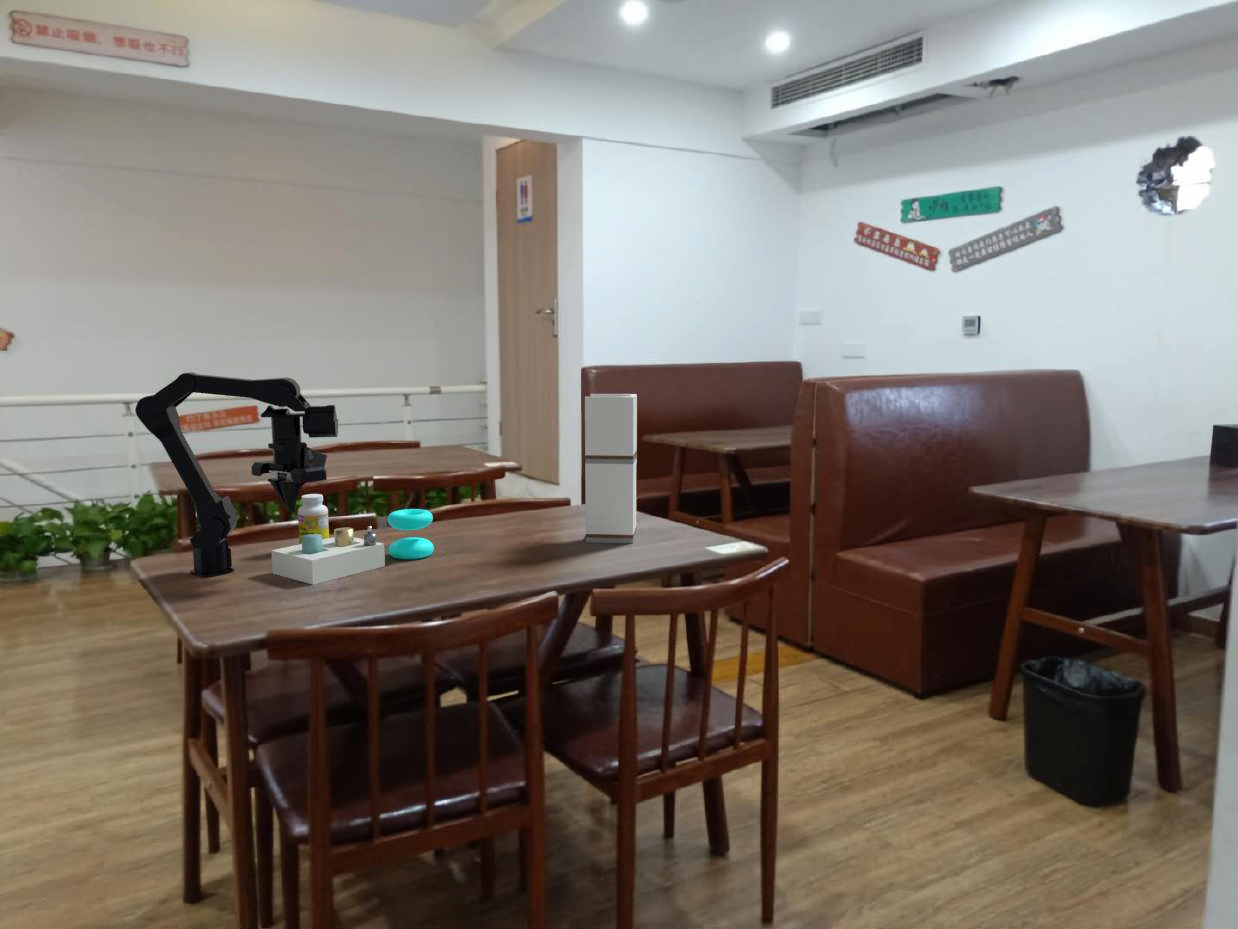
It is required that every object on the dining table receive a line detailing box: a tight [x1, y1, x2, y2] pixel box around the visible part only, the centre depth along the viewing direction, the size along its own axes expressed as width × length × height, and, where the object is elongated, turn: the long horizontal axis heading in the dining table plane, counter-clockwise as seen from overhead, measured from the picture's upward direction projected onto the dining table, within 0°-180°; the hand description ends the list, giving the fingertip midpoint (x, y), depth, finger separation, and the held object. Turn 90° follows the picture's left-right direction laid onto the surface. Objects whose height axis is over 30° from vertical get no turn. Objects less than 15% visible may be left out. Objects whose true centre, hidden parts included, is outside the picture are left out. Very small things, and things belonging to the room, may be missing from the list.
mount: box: [271, 536, 386, 586], centre depth 193 cm, size 18×14×5 cm
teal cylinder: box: [301, 534, 322, 555], centre depth 190 cm, size 4×4×7 cm
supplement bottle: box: [297, 493, 330, 545], centre depth 210 cm, size 7×7×13 cm
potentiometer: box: [363, 525, 377, 546], centre depth 194 cm, size 3×3×4 cm
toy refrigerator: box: [584, 393, 638, 544], centre depth 221 cm, size 11×11×35 cm
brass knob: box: [333, 526, 355, 547], centre depth 196 cm, size 4×4×7 cm
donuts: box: [387, 508, 435, 560], centre depth 206 cm, size 10×10×10 cm
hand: (290, 511), depth 193 cm, fingers closed
